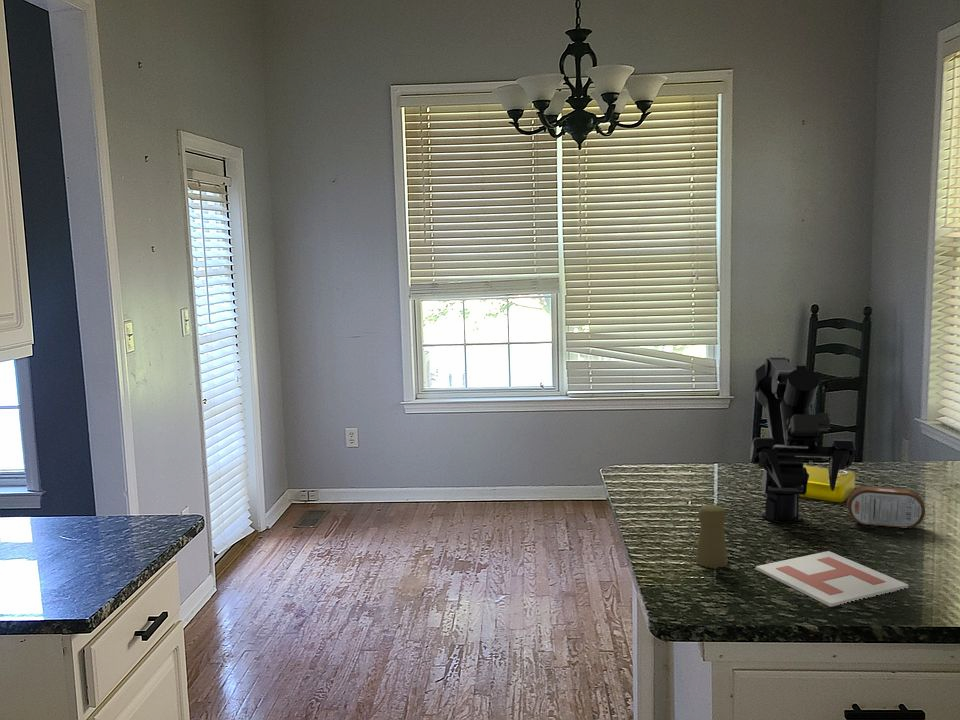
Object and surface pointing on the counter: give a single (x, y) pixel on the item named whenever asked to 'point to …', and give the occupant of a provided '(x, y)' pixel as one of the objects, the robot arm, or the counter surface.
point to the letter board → (831, 578)
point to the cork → (712, 537)
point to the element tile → (828, 484)
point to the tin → (885, 506)
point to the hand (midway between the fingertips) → (807, 489)
